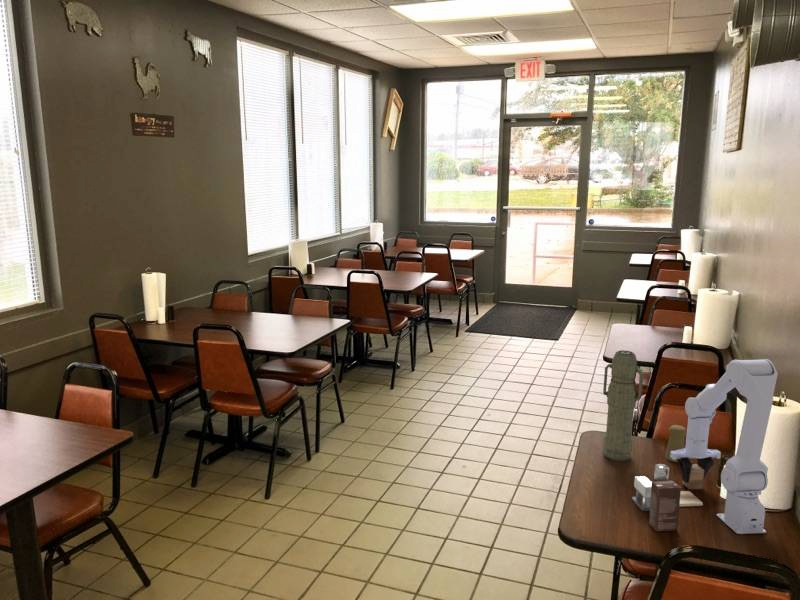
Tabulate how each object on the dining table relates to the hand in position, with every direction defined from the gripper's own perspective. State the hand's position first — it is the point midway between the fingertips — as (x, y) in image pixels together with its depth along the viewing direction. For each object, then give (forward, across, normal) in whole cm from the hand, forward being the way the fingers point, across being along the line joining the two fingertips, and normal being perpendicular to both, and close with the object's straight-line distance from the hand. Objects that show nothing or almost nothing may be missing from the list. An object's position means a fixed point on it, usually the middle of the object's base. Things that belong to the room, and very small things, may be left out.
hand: (692, 480), depth 189 cm
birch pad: (+2, +7, +8) cm, 11 cm away
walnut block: (+2, 0, 0) cm, 2 cm away
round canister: (+2, +7, -5) cm, 9 cm away
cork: (+2, -5, -19) cm, 20 cm away
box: (+2, +20, +22) cm, 30 cm away
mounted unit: (+2, +20, +10) cm, 22 cm away
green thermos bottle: (+2, +13, -22) cm, 26 cm away
